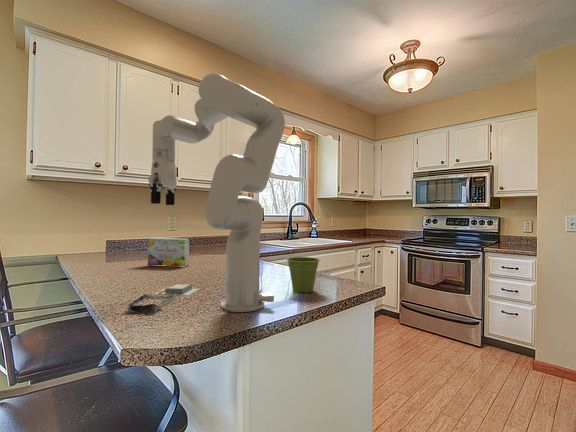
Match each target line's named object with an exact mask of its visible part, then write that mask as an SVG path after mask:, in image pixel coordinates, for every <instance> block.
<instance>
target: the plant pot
mask: <svg viewBox="0 0 576 432" xmlns="http://www.w3.org/2000/svg"><path fill="white" fill-rule="evenodd" d="M286 261H287V263H288V267H289V272H290V279H291V287H292V291H294V292H295V293H298V292H299V293H298V294H300V293H304V294H306V293H307V294H308V292H309V293H312V292H314V288H315V281H316V277H317V276H316V275H317V271H318V270H317V269H318V266H319V263H320V261H321V259H320V258H316V257H312V256H311V257H307V256H293V257H288V258H286Z"/></svg>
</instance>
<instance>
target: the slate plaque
mask: <svg viewBox="0 0 576 432" xmlns="http://www.w3.org/2000/svg"><path fill="white" fill-rule="evenodd" d="M167 287H168V288H167ZM167 287H165V288H166V289H165V288H164V289H165V293H167V294H166V295H169V294H175V293H176V294H184V293H186V292H188V291H190V290H192V289H193V284H185V283H180V284H179V283H178V284H177V283H175V284H173V285H170V287H169V286H167Z"/></svg>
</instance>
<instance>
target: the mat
mask: <svg viewBox="0 0 576 432" xmlns="http://www.w3.org/2000/svg"><path fill="white" fill-rule="evenodd" d="M170 286H171V285H170ZM170 286H167V287H165V288H163V289H160V290H158V291H157V292H154V293H153V295H168V296H169V295H171V296H173V295H174V294H167V293H165V289H166V288H168V287H170ZM199 290H200V288H192V290H190V291H188V292H186V293H184V294H176V296H189V295H192V294H194V293H195V292H197V291H199Z"/></svg>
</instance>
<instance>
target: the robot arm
mask: <svg viewBox="0 0 576 432" xmlns="http://www.w3.org/2000/svg"><path fill="white" fill-rule="evenodd" d="M198 95H199V98H200V99H198V100H197V101H196V102H195V104H194V113H195V116H196V117H197V120H198V121H196V122H193V121H190V120H187V119H185V118H182V117H178V116H175V115H173V114H172V115H171V114H169V115H165V116H164V117H163V118H161V119H160V120H156V121H154V122H153V124H152V154H151V157H152V161H151V162H152V163H151V171H150V173H151V174H150V176H149V177H148V178H147V180H148V187H149V188H150V189H149V191H150V203H151V204H154V205H155V204H162V203H161V199H162V198H161V196H162V195H161V194H162V192H161V189H164V190H165V192H166V194H165V205H166V206H175V202H176V201H175V195H176V190H177V186H178V184H177V169H176V168H177V167H176V166H177V165H176V141H180V142H184V143H187V144H198V143H200V142H202V141H204V140H206V139H208V138H209V137H210V136H211V135H212V134H213V131H214V130H215V125H216V124H217V123H219V122H221V121H223V120H225V119H227V118H231V119H233V120H236V121H239V122H241V123H243V124H246V125H249V126H251V127H254V128H255V129H256V130H255V131H254V132H253V133H252V134H251V135H250V136H249V138H248V139H247V142H246V146H245V148H244V149H245V150H244V153H243V155H240V154H229V155H225V156H224V157H222V158H221V159H220V160H219V162H218V163H217V165H216V167H215V169H214V173H213V176H212V180H211V184H210V188H209V193H208V196H207V200H206V205H205V210H204V215H205V220H206V222H207V225H208V226H209V227H211V228H212V229H214V230H218V231H230V232H229V235H228V237H227V241H226V245H225V246H226V248H225V249H226V252H225V254H226V255H225V258H226V261H225V266H226V267H225V299H223V300H221V301H220V304H219V307H220V308H222V309H223V310H226V311H227V312H230V313H248V312H253V311H254V312H255V311H257V310H258V311H259V310H261V309H262V308H264V307H265V302H268V303H274V301H275V295H273V294H272V293H264V292H262V291H263V289H262V288H260V248H261V246H260V245H261V231H262V227H263V226H262V225H263V220H264V209H263V207H262V205H261V203H260V202H259V201H258V200H257V199H255V198H254V197H252V196H251V197H250V196H243V195H240V194H241V193H245V194H259V193H261V192H263V191H264V190H265V189H266V187H267V185H268V182H269V179H270V176H271V172H272V169H273V165H274V161H275V159H276V156H277V155H276V154H277V151H278V148H279V145H280V142H281V140H282V138H283V136H284V132H285V126H286V125H285V124H286V119H285V116H284V113H283V112H282V109H280V108H279V106H277V104H275V103H273V102H272V101H271V100H270V99H268V98H266V97H265V96H262V95H261V94H258V93H256V92H255V91H253V90H251V89H249V88H247V87H246V86H244V85H241V84H240V83H237V82H235V81H234V80H231V79H229V78H227V77H225V76H224V75H221V74H219V73H215V72H214V73H213V72H212V73H209V74H207V75H205V76H203V78H202V79H201V81H200V82H199V84H198Z"/></svg>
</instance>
